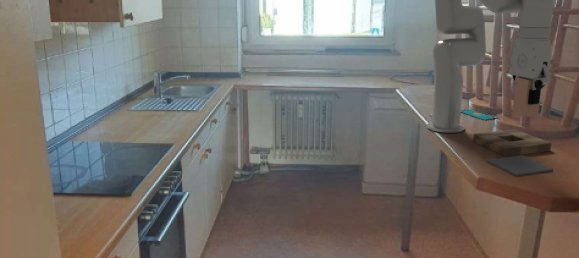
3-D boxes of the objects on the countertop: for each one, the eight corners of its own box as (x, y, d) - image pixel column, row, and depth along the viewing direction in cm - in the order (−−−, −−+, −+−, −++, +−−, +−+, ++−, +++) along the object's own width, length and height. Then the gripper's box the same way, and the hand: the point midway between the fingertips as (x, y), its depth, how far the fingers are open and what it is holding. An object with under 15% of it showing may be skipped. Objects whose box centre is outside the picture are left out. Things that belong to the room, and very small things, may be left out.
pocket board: (472, 141, 163) (473, 133, 163) (514, 136, 167) (515, 129, 167) (505, 156, 149) (506, 148, 148) (550, 150, 153) (551, 143, 152)
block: (512, 113, 138) (516, 77, 135) (526, 111, 139) (530, 76, 136) (524, 116, 134) (528, 80, 131) (538, 115, 135) (542, 78, 132)
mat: (487, 161, 145) (487, 159, 144) (521, 157, 148) (522, 155, 148) (515, 176, 134) (515, 174, 133) (552, 170, 137) (553, 168, 136)
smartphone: (483, 119, 187) (457, 110, 200) (483, 121, 187) (457, 112, 201) (499, 117, 189) (472, 108, 203) (499, 119, 189) (472, 110, 203)
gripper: (500, 31, 137) (494, 96, 142) (546, 37, 122) (537, 110, 127) (523, 30, 139) (516, 94, 144) (571, 36, 124) (561, 107, 129)
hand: (526, 101), depth 135 cm, fingers closed on block, 4 cm apart
